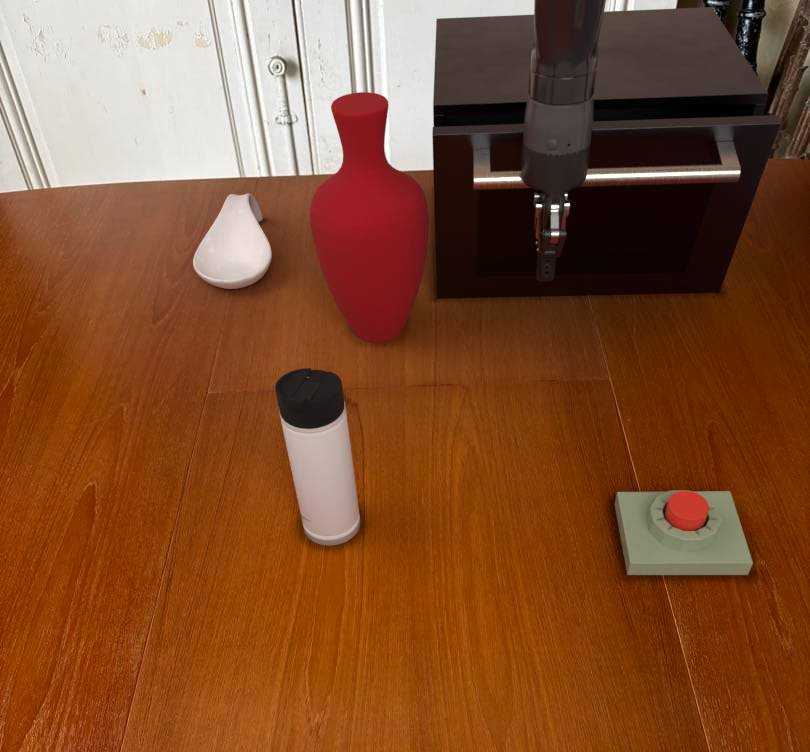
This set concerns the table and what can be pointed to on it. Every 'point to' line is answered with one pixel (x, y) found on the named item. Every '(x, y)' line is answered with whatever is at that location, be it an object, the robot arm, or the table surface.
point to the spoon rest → (234, 246)
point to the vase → (369, 225)
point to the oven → (598, 68)
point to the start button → (687, 510)
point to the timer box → (681, 537)
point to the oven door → (600, 208)
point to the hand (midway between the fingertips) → (544, 278)
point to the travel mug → (319, 453)
